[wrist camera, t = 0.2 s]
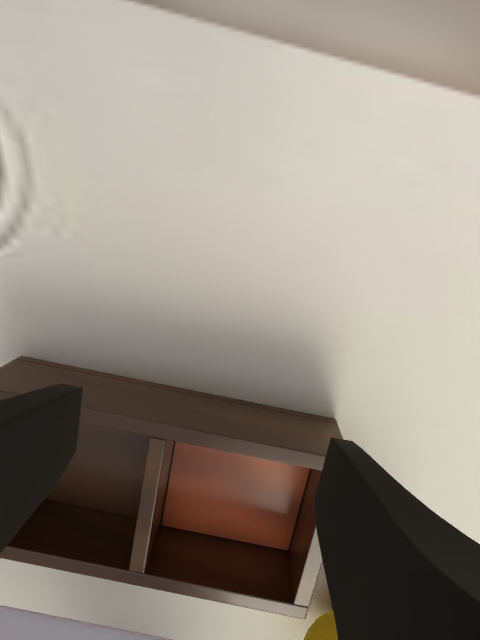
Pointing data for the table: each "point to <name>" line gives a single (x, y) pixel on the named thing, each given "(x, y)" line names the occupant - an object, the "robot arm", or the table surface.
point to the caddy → (180, 491)
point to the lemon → (323, 628)
